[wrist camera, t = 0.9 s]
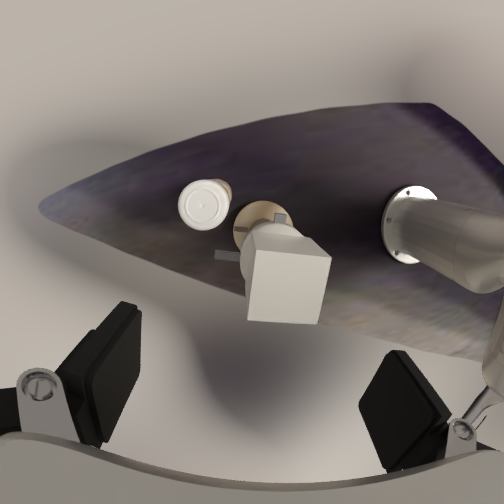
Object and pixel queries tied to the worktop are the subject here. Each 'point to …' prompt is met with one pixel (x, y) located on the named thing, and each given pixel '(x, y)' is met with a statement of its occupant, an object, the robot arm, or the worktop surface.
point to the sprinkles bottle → (204, 203)
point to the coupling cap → (281, 273)
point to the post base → (255, 218)
